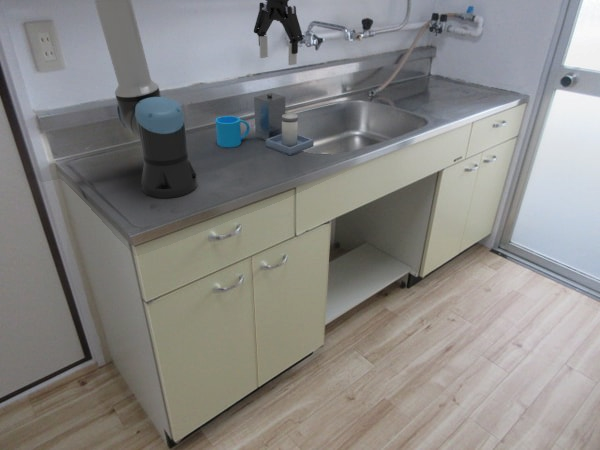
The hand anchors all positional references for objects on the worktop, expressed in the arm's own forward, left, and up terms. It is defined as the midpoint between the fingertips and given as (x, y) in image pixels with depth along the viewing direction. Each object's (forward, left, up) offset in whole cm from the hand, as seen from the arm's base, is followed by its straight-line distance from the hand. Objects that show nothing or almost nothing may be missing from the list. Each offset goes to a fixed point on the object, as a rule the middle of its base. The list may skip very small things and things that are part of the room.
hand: (277, 60), depth 146 cm
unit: (0, +4, -26) cm, 27 cm away
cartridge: (-2, -7, -26) cm, 27 cm away
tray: (-2, -7, -26) cm, 27 cm away
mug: (-12, +9, -27) cm, 31 cm away
